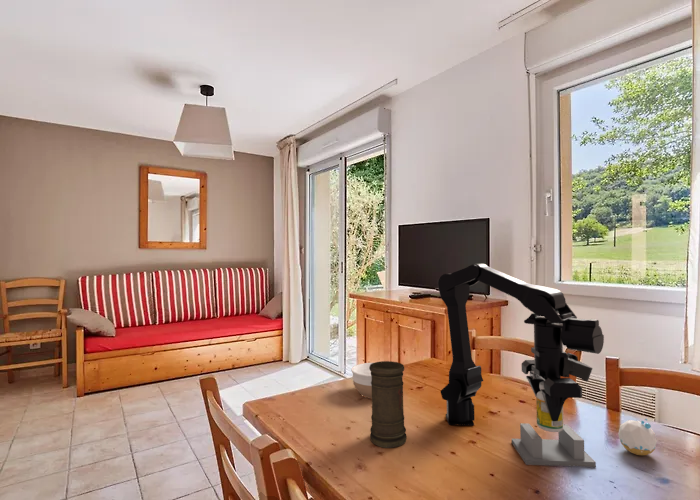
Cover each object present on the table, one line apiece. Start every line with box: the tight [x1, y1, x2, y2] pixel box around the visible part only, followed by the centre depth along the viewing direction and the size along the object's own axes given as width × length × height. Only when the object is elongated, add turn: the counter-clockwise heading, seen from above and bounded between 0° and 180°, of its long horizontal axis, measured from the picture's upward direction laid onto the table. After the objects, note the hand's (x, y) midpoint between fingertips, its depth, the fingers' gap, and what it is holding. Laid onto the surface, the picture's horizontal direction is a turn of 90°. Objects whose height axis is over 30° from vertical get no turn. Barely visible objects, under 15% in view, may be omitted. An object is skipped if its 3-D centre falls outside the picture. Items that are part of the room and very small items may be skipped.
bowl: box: [351, 362, 373, 399], centre depth 131 cm, size 16×16×8 cm
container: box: [369, 360, 408, 449], centre depth 98 cm, size 9×9×18 cm
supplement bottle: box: [535, 381, 564, 433], centre depth 89 cm, size 5×5×10 cm
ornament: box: [617, 418, 657, 456], centre depth 89 cm, size 7×7×8 cm
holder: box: [511, 423, 597, 468], centre depth 89 cm, size 14×10×5 cm
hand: (549, 415), depth 89 cm, fingers closed on supplement bottle, 5 cm apart
